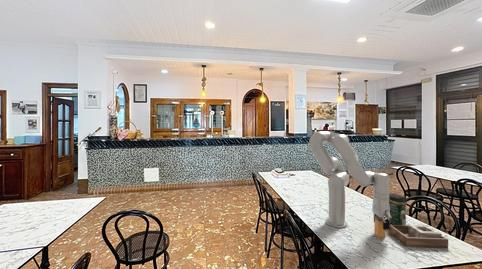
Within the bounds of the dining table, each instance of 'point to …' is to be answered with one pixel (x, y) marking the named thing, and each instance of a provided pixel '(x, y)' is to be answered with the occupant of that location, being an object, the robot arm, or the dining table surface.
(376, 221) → the connector
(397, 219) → the coffee jar
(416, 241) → the walled box
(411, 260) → the dining table surface
